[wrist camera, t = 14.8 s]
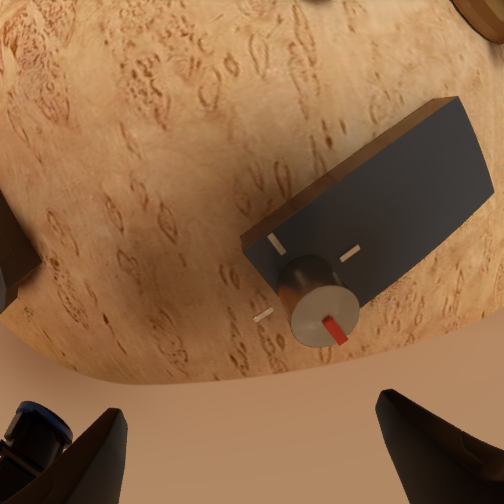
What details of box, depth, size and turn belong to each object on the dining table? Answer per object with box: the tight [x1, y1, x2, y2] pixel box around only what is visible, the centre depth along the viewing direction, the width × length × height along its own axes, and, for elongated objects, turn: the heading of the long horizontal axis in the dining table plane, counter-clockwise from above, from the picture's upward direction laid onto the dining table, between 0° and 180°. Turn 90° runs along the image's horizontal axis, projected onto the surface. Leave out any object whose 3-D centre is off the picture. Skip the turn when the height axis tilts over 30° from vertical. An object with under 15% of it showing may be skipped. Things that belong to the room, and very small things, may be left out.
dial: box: [277, 256, 360, 348], centre depth 16 cm, size 4×4×4 cm
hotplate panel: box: [240, 96, 494, 323], centre depth 19 cm, size 20×8×3 cm, turn 126°
